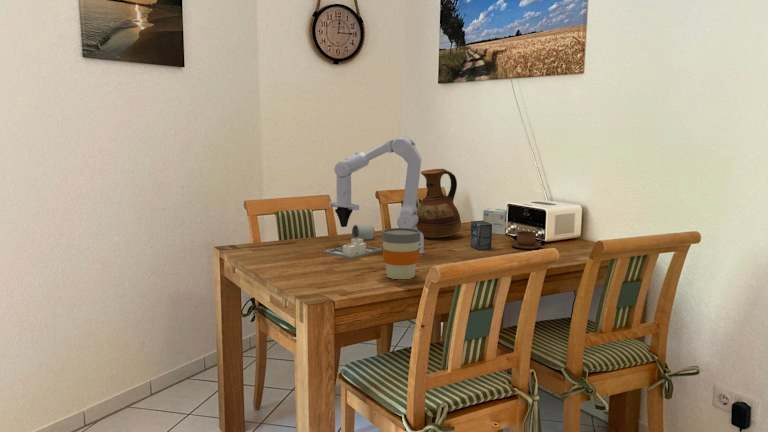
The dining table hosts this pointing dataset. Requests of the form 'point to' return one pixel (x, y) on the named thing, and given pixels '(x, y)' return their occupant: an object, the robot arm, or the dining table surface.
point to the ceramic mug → (363, 232)
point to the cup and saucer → (526, 240)
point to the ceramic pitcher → (438, 207)
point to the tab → (349, 249)
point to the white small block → (356, 240)
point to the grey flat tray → (340, 253)
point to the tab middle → (360, 247)
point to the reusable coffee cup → (400, 252)
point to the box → (481, 235)
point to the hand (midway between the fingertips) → (343, 226)
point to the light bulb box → (496, 220)
